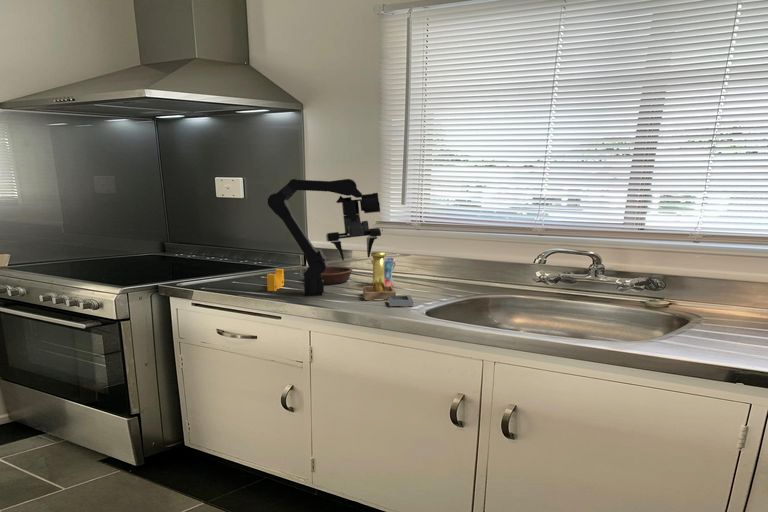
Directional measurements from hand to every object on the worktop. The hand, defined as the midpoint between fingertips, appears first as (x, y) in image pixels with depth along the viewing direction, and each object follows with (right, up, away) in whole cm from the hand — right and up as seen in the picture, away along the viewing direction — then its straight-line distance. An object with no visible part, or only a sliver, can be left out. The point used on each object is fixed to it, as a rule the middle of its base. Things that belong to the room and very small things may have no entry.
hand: (355, 258), depth 182 cm
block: (+15, -15, -13) cm, 25 cm away
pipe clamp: (-32, -12, +13) cm, 36 cm away
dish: (-12, -10, +26) cm, 30 cm away
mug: (+10, -11, +17) cm, 22 cm away
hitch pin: (+8, -13, -2) cm, 15 cm away
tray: (+8, -13, -2) cm, 16 cm away
